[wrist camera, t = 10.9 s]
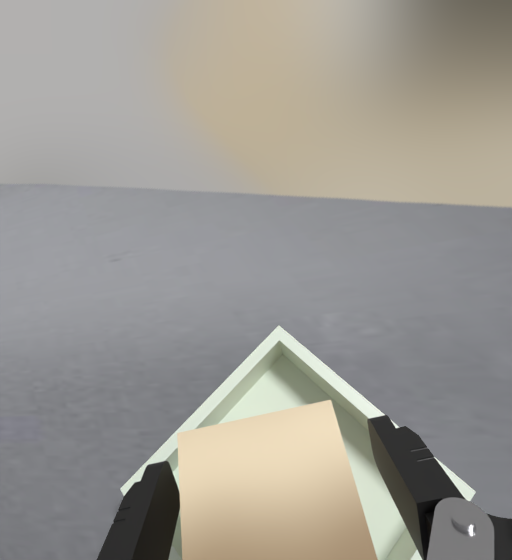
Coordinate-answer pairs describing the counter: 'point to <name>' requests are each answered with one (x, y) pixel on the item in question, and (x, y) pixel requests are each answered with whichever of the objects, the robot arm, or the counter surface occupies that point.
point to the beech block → (271, 490)
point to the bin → (293, 393)
